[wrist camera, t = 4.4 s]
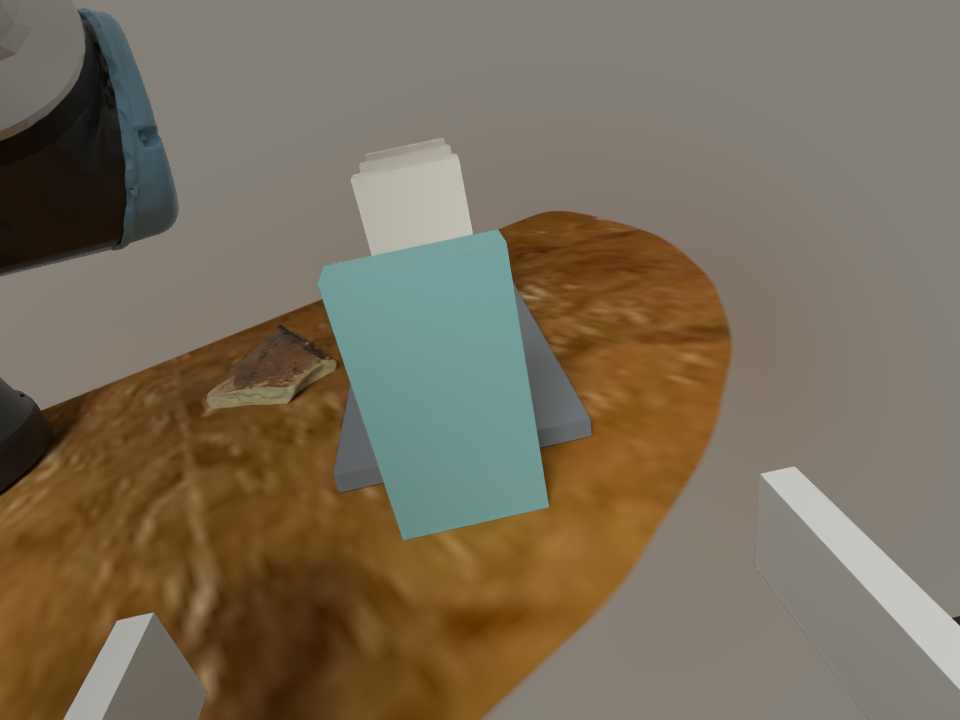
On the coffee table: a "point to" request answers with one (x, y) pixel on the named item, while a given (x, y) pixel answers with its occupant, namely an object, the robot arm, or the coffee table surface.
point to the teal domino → (440, 380)
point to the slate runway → (550, 398)
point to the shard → (272, 372)
